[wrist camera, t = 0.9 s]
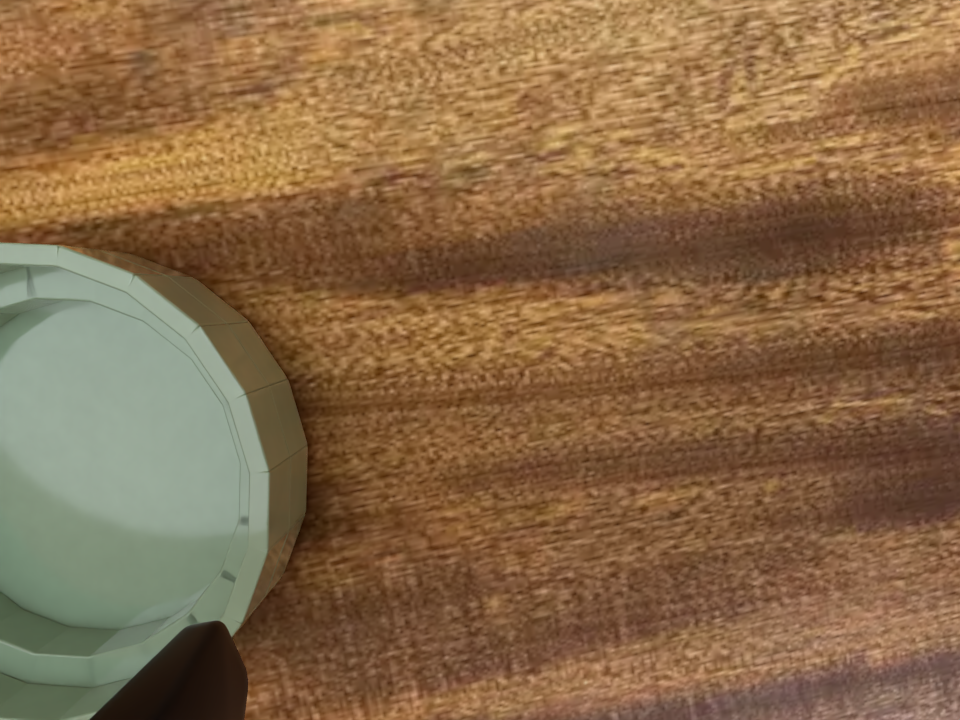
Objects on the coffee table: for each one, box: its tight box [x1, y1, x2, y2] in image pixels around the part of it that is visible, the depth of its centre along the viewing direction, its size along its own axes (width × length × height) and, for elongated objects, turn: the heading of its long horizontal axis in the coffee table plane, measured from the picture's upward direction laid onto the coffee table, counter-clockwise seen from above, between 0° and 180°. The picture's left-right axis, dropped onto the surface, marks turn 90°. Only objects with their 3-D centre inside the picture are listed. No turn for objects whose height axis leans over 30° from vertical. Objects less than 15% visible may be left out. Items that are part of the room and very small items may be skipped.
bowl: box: [0, 242, 308, 720], centre depth 23 cm, size 14×14×4 cm
